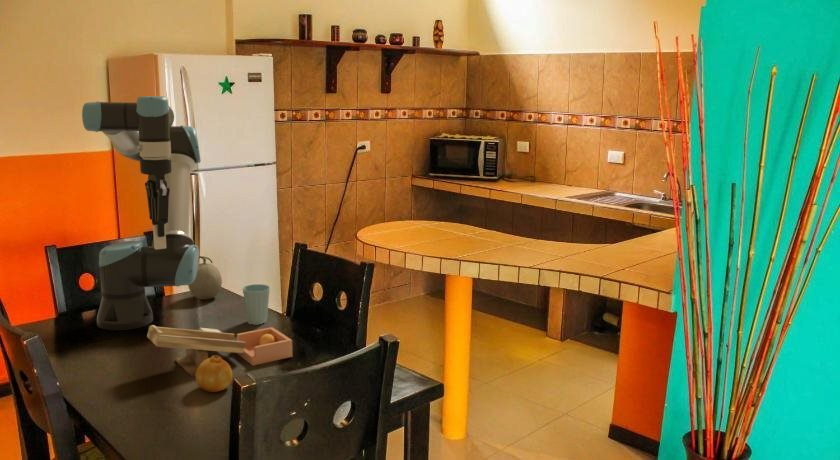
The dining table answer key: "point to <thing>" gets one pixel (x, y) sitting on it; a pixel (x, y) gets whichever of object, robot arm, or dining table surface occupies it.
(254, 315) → the cup
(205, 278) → the fruit
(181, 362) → the fulcrum
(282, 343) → the dish
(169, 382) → the dining table surface
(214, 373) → the fruit
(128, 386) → the dining table surface
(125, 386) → the dining table surface
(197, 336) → the lever
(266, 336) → the ball
